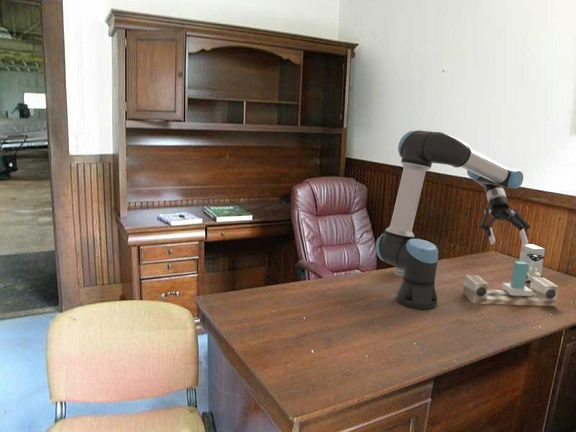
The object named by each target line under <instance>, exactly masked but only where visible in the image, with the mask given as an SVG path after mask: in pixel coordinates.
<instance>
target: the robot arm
mask: <svg viewBox="0 0 576 432" xmlns="http://www.w3.org/2000/svg"><path fill="white" fill-rule="evenodd" d="M397 151H398V155H399V157H400V158H401V159H400V163H401V165H402V167H403V169H402V173H401V178H400V182H399V187H398V191H397V196H396V200H395V203H394V204H395V205H394V208H393V212H392V216H391V221H390V224H389V226H387V228H385V230H384V233H382V234H380V236H379V237H377V240H376V242H375V253H376V255H377V257H378V258H379V259H380V260H381V261H383V262H384V263H385V264H388V265H391V266H393V267H395V268H397V267H398V268H400V269H402V270H404V275H403V277H402V282H401V284H400V286H399V288H398V290H397V292H396V299H395V300H396V301H397V302H398V303H399V304H400V305H402V306H404V307H406V308H407V307H408V308H411V309H416V310H432V309H435V308H436V307H438V300H439V299H438V294H437V290H436V285H435V283H436V277H437V270H438V269H437V267H438V260H439V248H438V247H437V246H436V244H434V243H432V242H431V241H428V240H424V239H421V238H415V234H414V233H413V227H414V224H415V223H414V222H415V219H416V214H417V209H418V206H419V201H420V198H421V194H422V193H421V192H422V190H423V185H424V181H425V177H426V176H425V175H426V173H427V171H429V170H431V168H432V165H433V164H437V165H439V164H440V165H445V166H446V165H447V166H451V167H453V168H462V169H465V170H466V174H467V175H468V177H469V178H470V179H471V180H473V181H474V182H476V183H477V184H479V185H480V186H481V187H483V189H484V192H485V195H486V198H487V199H486V200H487V202H488V206H489V208H488V207H485V209H484V210H483V218H482V221H481V223H480V226H479V229H480V230H483V231H484V232H485V234H486V237H488V239H489V242H490V243H489V244H490V245H492V246H493V245H494V244H495V243H496V238H495V235H494V231H493V227H491V226H492V225H493V223H494V222H495V220H498V221H506V222H509V223H510V224H511V225H513V226H514V227H515V228H517V229H518V230H519V236H520V239H521V243H522V244H523V246H525V245H526V244H529V240H528V237H529V236H528V235H529V234H528V230H529V229H530V228H531V226H530V225H529V223H528V222H527V221H526V220H525V219H524V218H523V217H522V215H521V214H520V213H519V211H518V209H517V208H515V209H514V210H511V209H510V207H509V205H510V204H509V201H508V198H507V195H506V191H505V189H504V188H508V189H510V188H511V189H518V188H520V187H521V185H522V184H523V181H524V174H523V172H522V171H521V170H519V169H513V168H509V167H507V166H505V165H503V164H500V163H499V162H497V161H495V160H493V159H491V158H489V157H487V156H485V155H483V154H481V153H480V152H477V151H476V150H473V149H472V148H471V145H469V144H468V143H466V142H464V141H462V140H461V139H458V138H457V137H454V136H452V135H450V134H448V133H445V132H440V131H430V130H429V131H428V130H419V129H418V130H410V131H408V132H407V133H405V134H404V135H403V136H402V137H401V138H400V140H399V142H398V146H397ZM490 214H491V215H492V216H493V217H491V219H490V221H489V222H488V223H487V220H488V218H489V215H490ZM486 223H487V224H486Z"/></svg>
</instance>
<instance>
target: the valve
mask: <svg viewBox="0 0 576 432" xmlns="http://www.w3.org/2000/svg"><path fill="white" fill-rule="evenodd" d="M527 256H529V258H531V260H532V261H533V263H532V267H531V268H529V271H530V272H529V273H527V275H526V281H525V282H531V277H542V274H541V275H540V273H539V272H537V269H536V268H535V266H536V261H539V260H542V259H543V260H545V259H544V258H545V255H544V256H542V255H537V254H535V253H534V254H532V253H529V254H527ZM538 258H539V259H538Z"/></svg>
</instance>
